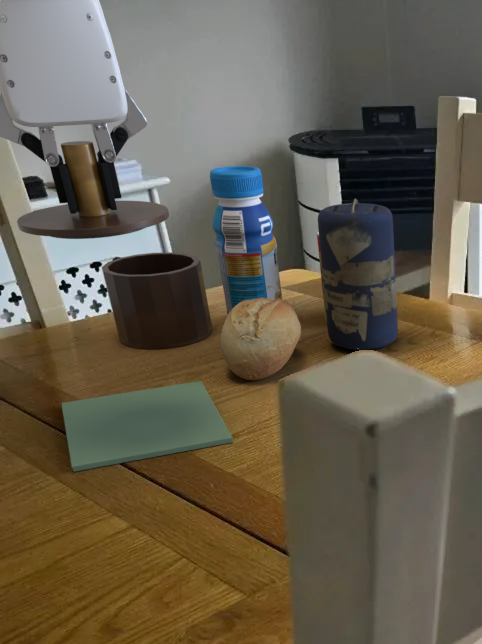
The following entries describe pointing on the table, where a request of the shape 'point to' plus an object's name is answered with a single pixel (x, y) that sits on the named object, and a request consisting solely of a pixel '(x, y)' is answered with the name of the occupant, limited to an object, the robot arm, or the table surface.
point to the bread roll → (259, 337)
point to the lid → (90, 204)
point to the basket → (158, 300)
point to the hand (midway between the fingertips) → (92, 207)
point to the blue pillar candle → (358, 274)
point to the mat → (141, 425)
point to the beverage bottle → (244, 236)
